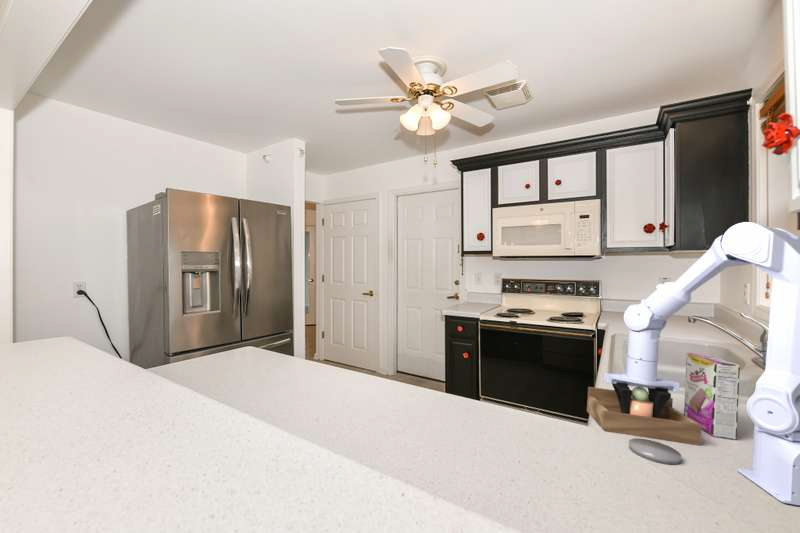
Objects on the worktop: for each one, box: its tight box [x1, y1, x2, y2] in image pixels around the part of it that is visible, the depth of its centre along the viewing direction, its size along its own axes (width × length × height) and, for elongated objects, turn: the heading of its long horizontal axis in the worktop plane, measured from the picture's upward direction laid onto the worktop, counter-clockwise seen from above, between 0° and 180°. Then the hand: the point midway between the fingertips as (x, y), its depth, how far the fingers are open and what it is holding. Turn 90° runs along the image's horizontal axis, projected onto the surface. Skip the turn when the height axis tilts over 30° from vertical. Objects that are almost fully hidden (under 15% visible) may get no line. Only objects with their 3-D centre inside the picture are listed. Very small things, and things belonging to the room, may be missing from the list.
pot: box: [629, 386, 653, 417], centre depth 80 cm, size 5×5×9 cm
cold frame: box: [586, 386, 703, 447], centre depth 80 cm, size 12×18×6 cm, turn 78°
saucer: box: [628, 437, 682, 466], centre depth 67 cm, size 8×8×1 cm
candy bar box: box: [683, 352, 741, 440], centre depth 83 cm, size 11×5×16 cm, turn 168°
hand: (638, 419), depth 80 cm, fingers closed on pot, 5 cm apart
